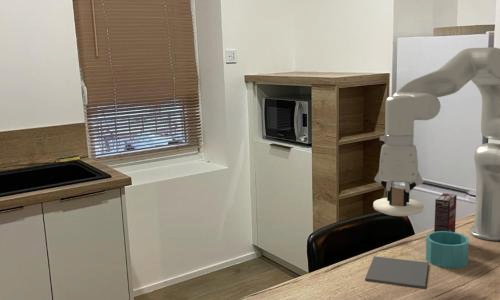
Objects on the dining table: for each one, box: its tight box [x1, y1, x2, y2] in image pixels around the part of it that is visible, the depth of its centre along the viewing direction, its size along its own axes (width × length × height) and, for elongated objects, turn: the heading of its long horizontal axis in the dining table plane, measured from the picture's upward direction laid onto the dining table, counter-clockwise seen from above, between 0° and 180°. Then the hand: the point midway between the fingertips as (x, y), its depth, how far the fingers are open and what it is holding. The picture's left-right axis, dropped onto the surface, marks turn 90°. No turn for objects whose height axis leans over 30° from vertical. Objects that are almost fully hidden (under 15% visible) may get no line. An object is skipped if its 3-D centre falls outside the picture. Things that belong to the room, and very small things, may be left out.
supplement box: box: [433, 192, 458, 233], centre depth 160 cm, size 9×5×16 cm, turn 143°
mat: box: [364, 256, 429, 289], centre depth 142 cm, size 16×16×1 cm
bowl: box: [425, 231, 470, 269], centre depth 148 cm, size 12×12×7 cm
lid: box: [372, 186, 424, 217], centre depth 138 cm, size 14×14×6 cm
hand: (398, 203), depth 138 cm, fingers closed on lid, 3 cm apart
